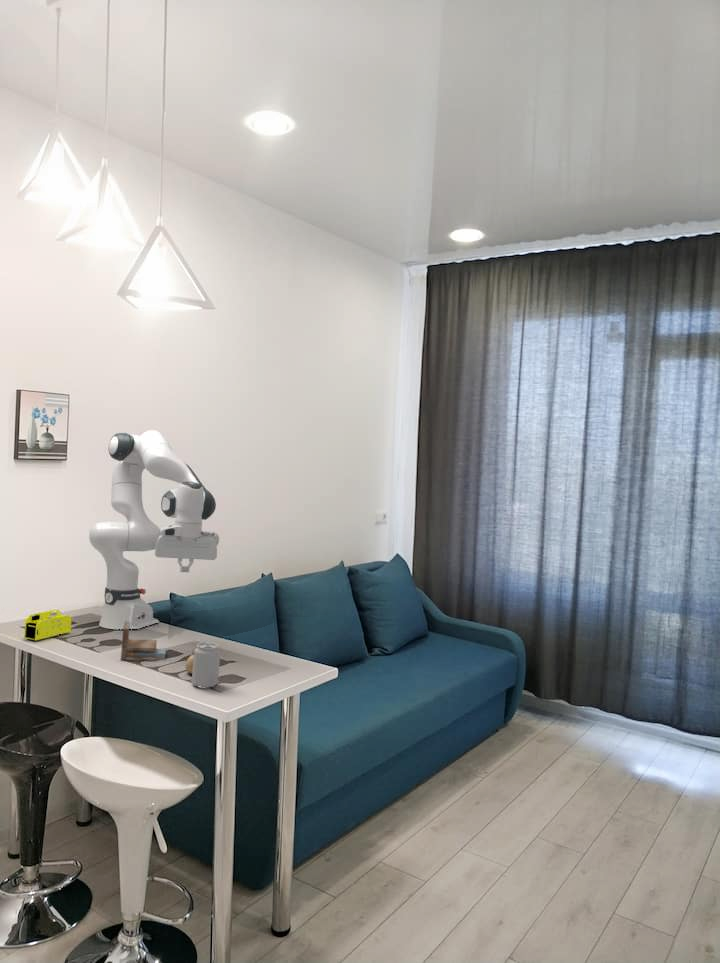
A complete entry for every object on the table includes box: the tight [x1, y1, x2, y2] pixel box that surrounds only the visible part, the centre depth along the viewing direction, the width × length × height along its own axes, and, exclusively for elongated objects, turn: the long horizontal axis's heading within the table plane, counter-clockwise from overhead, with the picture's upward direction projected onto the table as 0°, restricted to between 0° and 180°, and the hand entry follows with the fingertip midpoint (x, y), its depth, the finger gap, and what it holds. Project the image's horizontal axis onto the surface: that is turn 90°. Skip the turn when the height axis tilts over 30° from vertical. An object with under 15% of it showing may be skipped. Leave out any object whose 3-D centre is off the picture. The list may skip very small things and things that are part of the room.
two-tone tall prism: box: [126, 648, 167, 660], centre depth 243 cm, size 12×6×2 cm, turn 104°
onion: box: [185, 650, 194, 675], centre depth 229 cm, size 8×8×7 cm
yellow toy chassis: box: [23, 608, 72, 641], centre depth 256 cm, size 16×6×8 cm, turn 158°
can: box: [191, 642, 221, 687], centre depth 218 cm, size 8×8×12 cm
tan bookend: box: [120, 621, 158, 661], centre depth 242 cm, size 10×10×10 cm
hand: (184, 571), depth 250 cm, fingers closed
